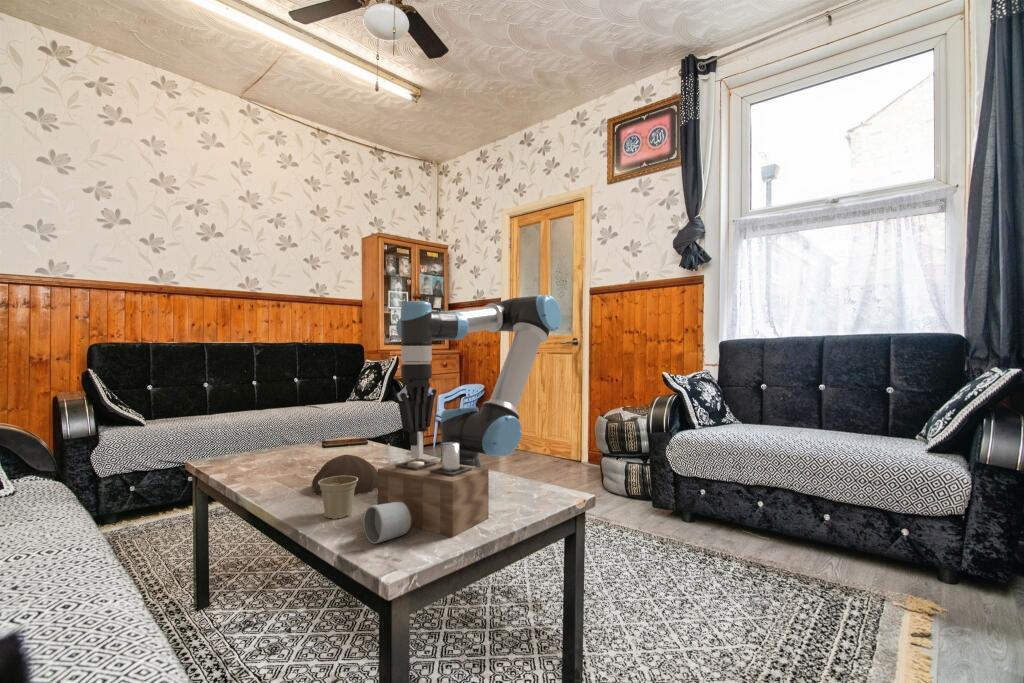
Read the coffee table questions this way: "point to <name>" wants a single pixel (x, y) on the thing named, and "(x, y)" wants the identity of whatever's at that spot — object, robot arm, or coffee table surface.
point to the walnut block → (437, 495)
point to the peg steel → (450, 457)
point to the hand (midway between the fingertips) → (417, 457)
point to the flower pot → (338, 495)
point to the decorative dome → (349, 473)
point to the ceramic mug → (386, 521)
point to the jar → (466, 460)
